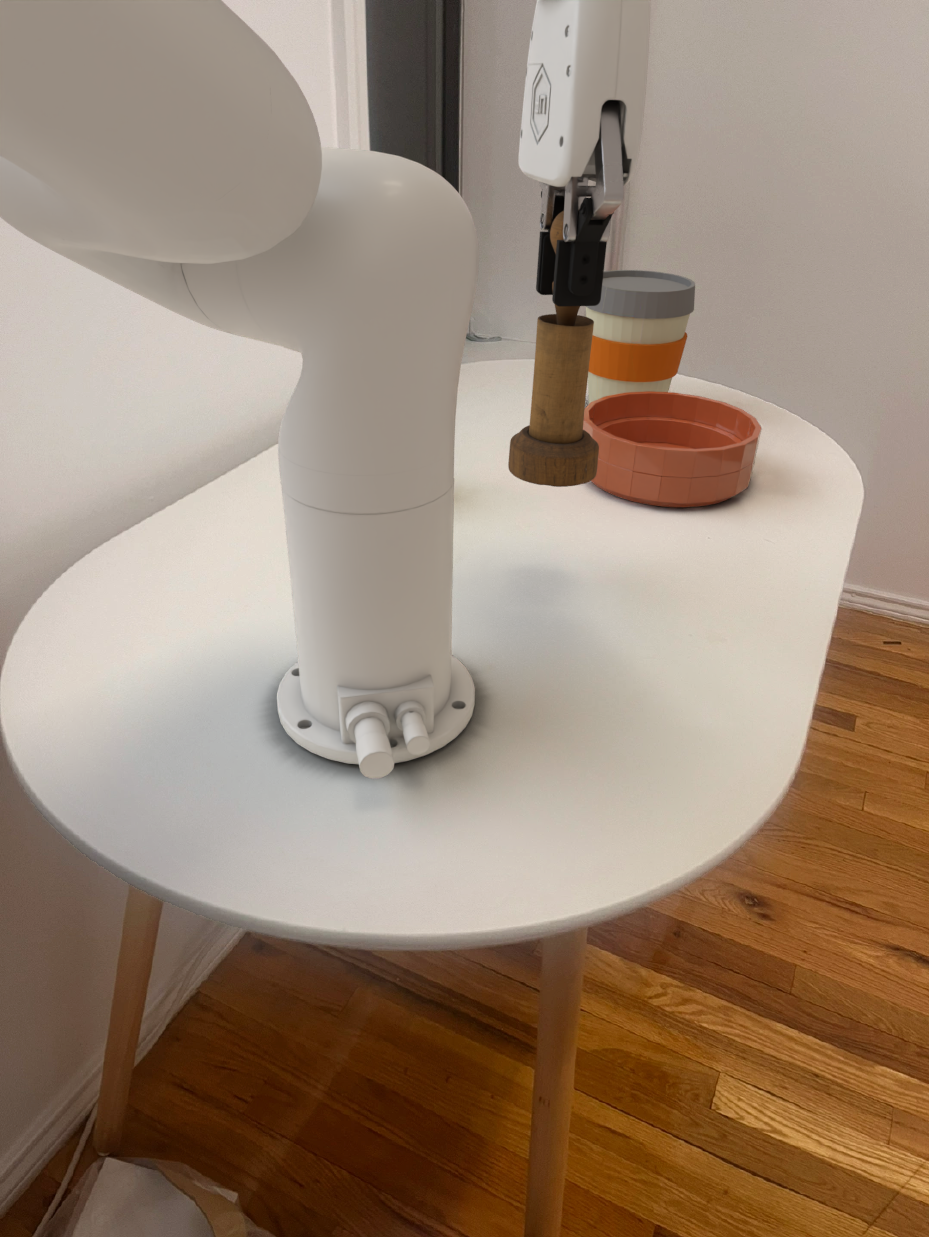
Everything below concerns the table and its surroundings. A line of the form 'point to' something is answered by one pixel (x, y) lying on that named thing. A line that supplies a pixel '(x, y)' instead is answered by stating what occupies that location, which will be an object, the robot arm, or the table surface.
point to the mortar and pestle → (558, 400)
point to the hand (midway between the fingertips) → (567, 296)
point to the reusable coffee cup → (638, 331)
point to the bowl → (671, 448)
